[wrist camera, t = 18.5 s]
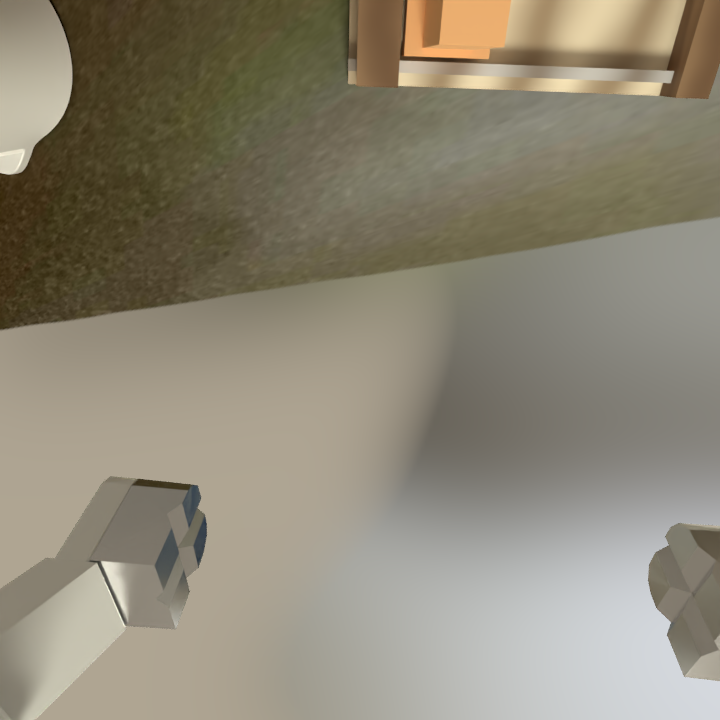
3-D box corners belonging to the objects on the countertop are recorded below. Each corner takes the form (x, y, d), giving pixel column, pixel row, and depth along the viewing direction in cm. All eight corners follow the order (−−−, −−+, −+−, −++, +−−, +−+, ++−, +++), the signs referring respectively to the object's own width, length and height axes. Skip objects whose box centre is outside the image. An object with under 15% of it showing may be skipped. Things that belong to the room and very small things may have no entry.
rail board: (348, 83, 42) (346, 85, 38) (351, -59, 38) (349, -75, 33) (683, 95, 42) (720, 99, 38) (726, -45, 38) (773, -58, 33)
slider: (401, 55, 40) (415, 54, 28) (406, -26, 37) (423, -64, 26) (480, 59, 40) (525, 58, 28) (491, -23, 37) (545, -59, 26)
